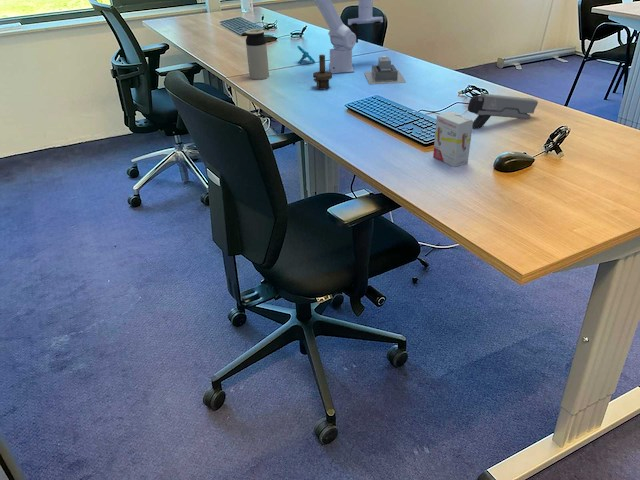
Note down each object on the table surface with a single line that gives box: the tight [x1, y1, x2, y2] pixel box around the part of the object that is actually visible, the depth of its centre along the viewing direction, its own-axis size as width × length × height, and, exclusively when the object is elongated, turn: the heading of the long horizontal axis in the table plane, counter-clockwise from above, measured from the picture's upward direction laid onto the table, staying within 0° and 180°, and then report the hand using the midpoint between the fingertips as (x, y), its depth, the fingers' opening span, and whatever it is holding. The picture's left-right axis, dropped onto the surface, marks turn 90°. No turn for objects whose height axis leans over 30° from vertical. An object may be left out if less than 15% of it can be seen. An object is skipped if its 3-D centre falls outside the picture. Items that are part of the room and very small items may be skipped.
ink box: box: [432, 110, 474, 168], centre depth 133 cm, size 9×5×12 cm, turn 31°
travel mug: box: [245, 28, 270, 80], centre depth 207 cm, size 8×8×18 cm
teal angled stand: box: [297, 45, 316, 64], centre depth 228 cm, size 11×6×10 cm
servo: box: [377, 55, 392, 72], centre depth 202 cm, size 4×10×7 cm, turn 3°
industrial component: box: [312, 54, 333, 90], centre depth 193 cm, size 9×7×12 cm
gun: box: [467, 93, 539, 130], centre depth 156 cm, size 2×25×10 cm, turn 112°
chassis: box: [363, 64, 406, 85], centre depth 204 cm, size 14×16×4 cm
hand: (365, 41), depth 218 cm, fingers open, 7 cm apart
